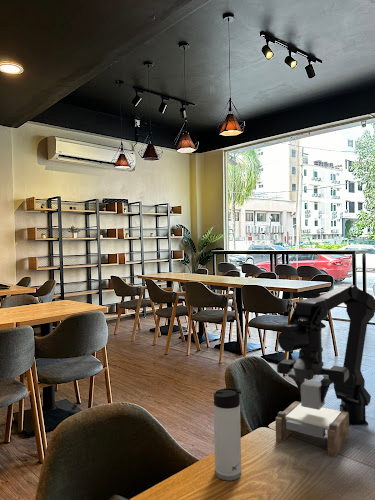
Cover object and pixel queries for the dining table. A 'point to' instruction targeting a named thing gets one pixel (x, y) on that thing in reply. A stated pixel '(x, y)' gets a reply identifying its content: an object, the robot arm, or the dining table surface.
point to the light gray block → (311, 394)
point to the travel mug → (227, 434)
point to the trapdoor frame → (335, 432)
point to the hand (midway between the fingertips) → (312, 400)
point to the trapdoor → (311, 420)
